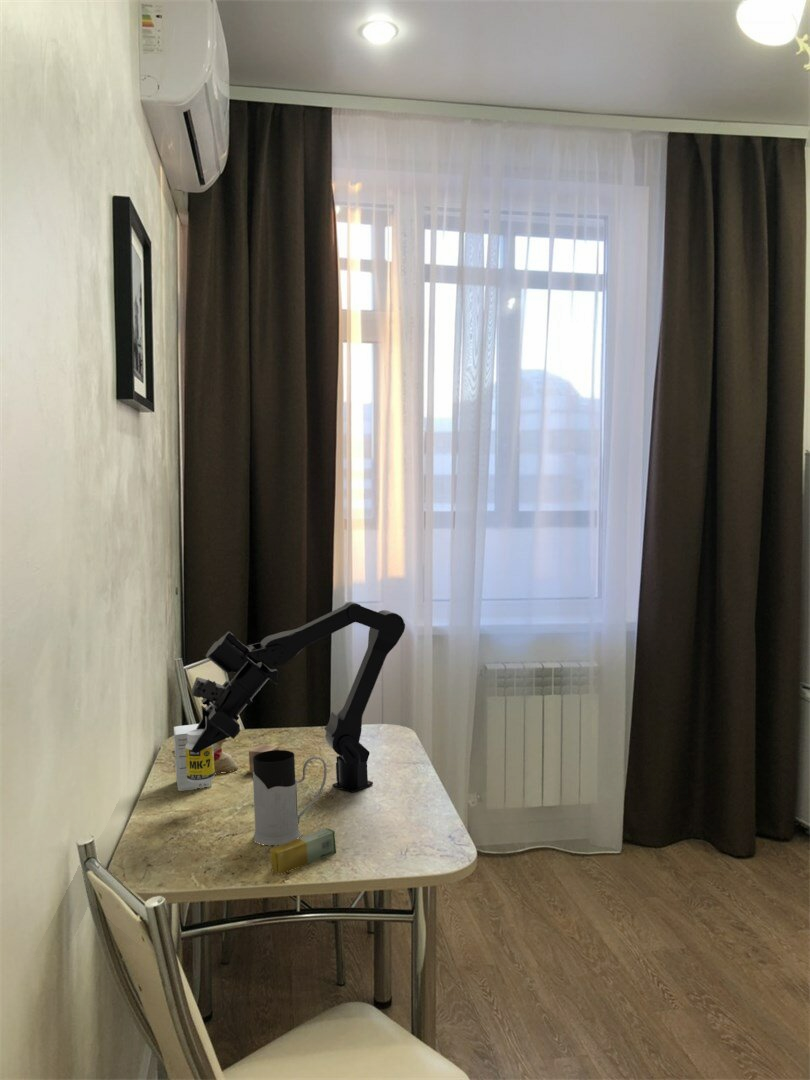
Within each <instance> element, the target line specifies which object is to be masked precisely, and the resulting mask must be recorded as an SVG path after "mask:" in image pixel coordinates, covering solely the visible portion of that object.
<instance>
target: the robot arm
mask: <svg viewBox="0 0 810 1080" xmlns="http://www.w3.org/2000/svg"><path fill="white" fill-rule="evenodd" d="M354 623H357V624H360V625H363V626H365V627H369V630H368V638H367V639H368V643H367V648H366V651H365V654H364V656H363V658H362V661H361V663H360V665H359V669H358V671H357V673H356V674H355V678H354V681H353V683H352V685H351V688H350V691H349V693H348V695H347V698H346V701H345V703H344V706H343V707H342V709H341V710H340V711H339V712H337V714H336V713H335V712H331V713H330V716H329V720H328V723H327V724H326V726H325V727H324V730H325V736H324V737H325V741H326V744H328V746H329V747H330V748H331V749H332V750H333V751H334V752H335V753H336V754H337V755H338V756H336V763H335V775H336V782H334V783H332V784H331V785H332V787H333V788H336V789H339V790H342V791H347V792H348V793H349V792H350V793H355V792H357V791H360V790H363V789H365V788H367V787H371V786H372V785H373V784H374V782H373V781H372V780H371V781H370V780H368V779H369V778H368V777H369V775H368V760H369V756H370V751H369V750H368V749H367V748H366V747H365V746H364V745H363V744H362V743H361V742H360V740H361V735H362V726H363V724H362V723H363V716H364V714H365V711H366V708H367V705H368V703H369V701H370V697H371V695H372V693H373V691H374V688H375V685H376V683H377V681H378V678H379V675H380V673H381V670H382V668H383V665H384V663H385V660H386V658H387V656H388V654H389V653H390V652H391V651H392V650H393V649H394V648H395V647H396V645H397V644H398V642H399V640H401V637H402V636H403V634H404V633H405V630H406V629H405V628H406V624H405V620H404V618H402V616H401V615H399V614H398V613H396V612H394V611H390V610H385V609H384V610H379V611H375V610H373V609H370V608H367V607H364V606H362V605H360V604H359V603H357V602H354V601H349V602H346V603H344V605H342V606H341V607H338V608H336V609H334V610H331V611H330V612H329V613H326V614H324V615H322V616H320V617H318V618H315V619H314V620H312V621H310V622H308V623H306V624H304V625H302V626H300V627H297V628H294V629H290V630H286V631H281V632H277V633H274V634H270V635H267V636H266V637H264V638H263V639H262V640H261V641H260V642H256V643H252V644H248V645H245V644H243V643H242V642H241V641H240V640H239V639H237V638H236V636H235V635H234V634H233V633H232V632H230V631H227V632H226V633H225V634H224V635H223V636H221V637H220V638H219V639H218V640H217V641H215V642H214V643H213V644H212V646H211V647H210V648H209V649H208V651H207V653H206V654H205V657H206V658H207V659H208V660H210V661H211V662H212V663H213V664H214V665H216V666H217V667H218V668H220V669H221V670H222V671H224V673H225V674H230V673H233V674H235V673H236V674H235V675H234V677H233V678H232V679H231V680H229V679H228V680H226V681H225V682H224V683H223V684H221V683H217V682H216V681H212V680H210V679H205V678H202V677H196V678H195V680H194V683H193V685H192V688H191V690H190V692H191V695H192V696H193V697H196V698H198V699H199V698H201V700H200V701H201V703H202V704H203V705H204V706H203V705H201V706H200V709H201V719H200V720H199V723H198V724H199V725H198V727H197V728H196V729H204V730H203V732H202V733H201V735H200V737H199V738H198V740H197V741H196V743H195V745H194V746H193V748H192V751H193V752H194V753H198V752H199V751H201V750H203V749H205V748H207V747H209V746H211V745H213V744H215V743H217V742H219V741H221V740H224V739H225V740H226V739H229V738H231V739H233V740H234V739H235V738H236V737H237V736H238V735H239V733H240V732H241V727H240V723H239V721H238V720H239V719H240V717H239V715H240V714H241V712H242V711H243V710H244V709H245V708H246V707H247V705H248V707H249V706H251V705H252V703H253V699H254V697H255V696H256V695H257V693H258V692H259V691H261V689H262V688H263V687H264V685H265V684H266V683H267V682H268V680H270V681H271V682H272V683H274V685H278V684H279V677H278V676H279V675H278V674H279V671H278V670H277V669H276V668H274V669H271V668H269V667H268V666H267V665H266V664H268V665H269V666H271V667H281V666H283V665H286V664H287V663H288V662H290V661H291V660H292V659H293V658H295V657H297V655H298V654H299V653H300V652H302V650H304V649H305V648H306V647H308V646H310V645H311V644H314V643H315V642H317V641H319V640H321V639H324V638H325V637H327V636H330V635H331V634H334V633H335V632H337V631H339V630H341V629H344V628H346V627H348V626H349V625H352V624H354ZM248 656H250V657H251V658H252V659H254V660H255V661H258V662H257V663H255V661H253V660H252V659H250V658H249V657H248ZM259 661H260V662H259ZM263 662H265V663H266V664H265V663H263ZM205 705H206V706H205Z"/></svg>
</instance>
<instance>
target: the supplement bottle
mask: <svg viewBox="0 0 810 1080" xmlns="http://www.w3.org/2000/svg"><path fill="white" fill-rule="evenodd" d="M203 730H204V729H196V730H192V731H189V732H188V733H187V741H188V743H187V744H186V746H185V750H186V768H187V780H188V781H189V782H192V783H202V782H207V781H210V780H211V781H213V779H214V778H215V775H216V774H215V770H214V750H213V745H211V746H209V747H207V748H205V749H203V750H201V751H199V752H198V753H194V752H193V751H192V748H193V746H194V745H195V743H196V741H197V740H198V738H199V737H200V735H201V733H202V732H203Z"/></svg>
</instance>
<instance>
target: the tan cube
mask: <svg viewBox="0 0 810 1080" xmlns="http://www.w3.org/2000/svg"><path fill="white" fill-rule="evenodd" d="M279 748H280V747H279V746H277V745H269V744H268V745H265V744H259V745H257V746H256V747H254V748H252V749H250V750H248V763H249V764H248V765H249V773H253V771H254V765H253V757H254V756H255V755H257V754H259V753H262V752H266V751H272V750H280V749H279Z"/></svg>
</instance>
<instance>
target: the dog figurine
mask: <svg viewBox="0 0 810 1080" xmlns="http://www.w3.org/2000/svg"><path fill="white" fill-rule="evenodd" d="M225 741H226V739H224V740H221V741H219V742H217V743H215V744H213V750H214V770H215V773H221V772H230V771H233V770H236V769H238V770H239V768H238V764H237V763H236V761H235V759H234V758H233V756H232V755H231V754H230V753H227V752H224V751H223V749H222V745H223V743H224V742H225ZM236 771H237V770H236ZM233 772H234V771H233ZM230 773H231V772H230Z"/></svg>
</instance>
